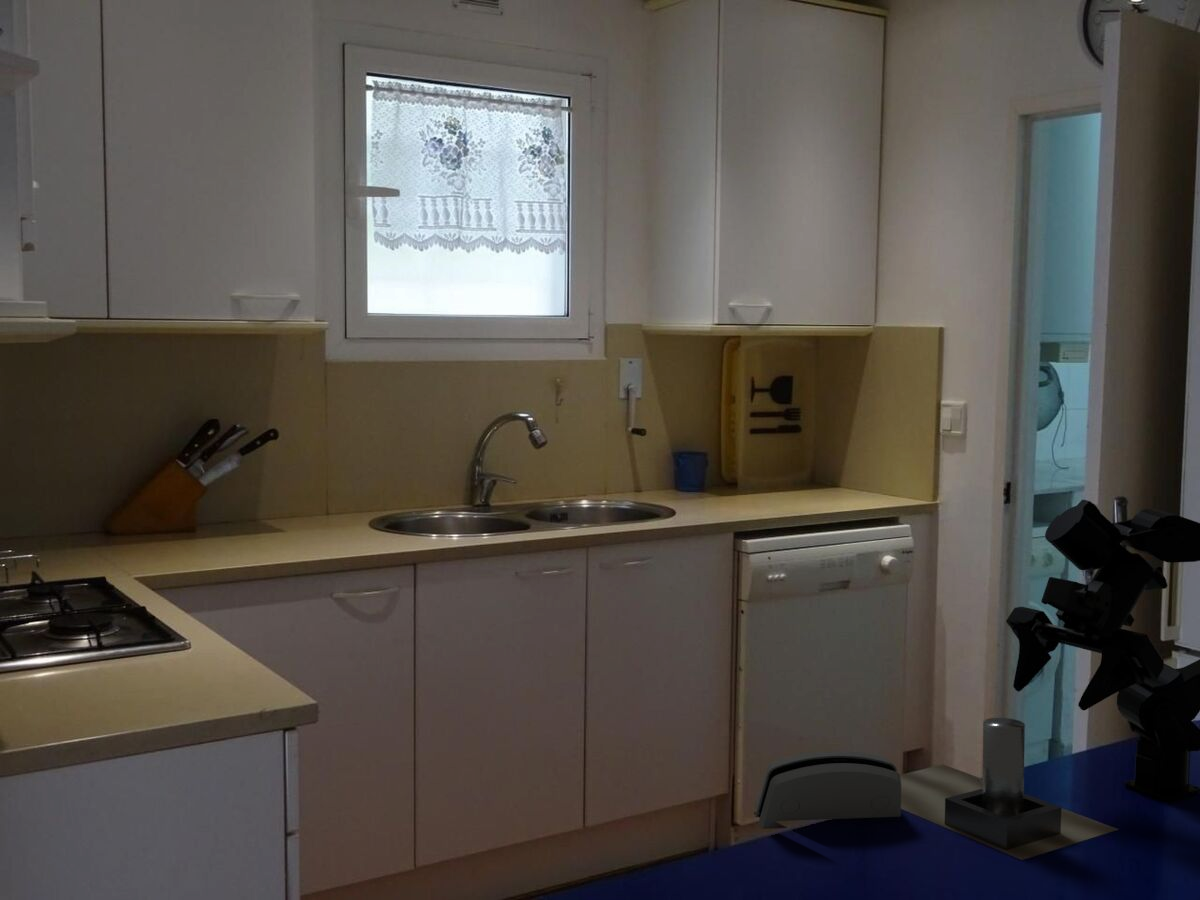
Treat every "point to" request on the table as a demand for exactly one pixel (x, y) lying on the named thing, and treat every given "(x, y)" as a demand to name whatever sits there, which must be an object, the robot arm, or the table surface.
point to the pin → (1003, 766)
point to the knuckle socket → (1003, 820)
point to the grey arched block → (828, 788)
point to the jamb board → (936, 783)
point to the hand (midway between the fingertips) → (1047, 698)
